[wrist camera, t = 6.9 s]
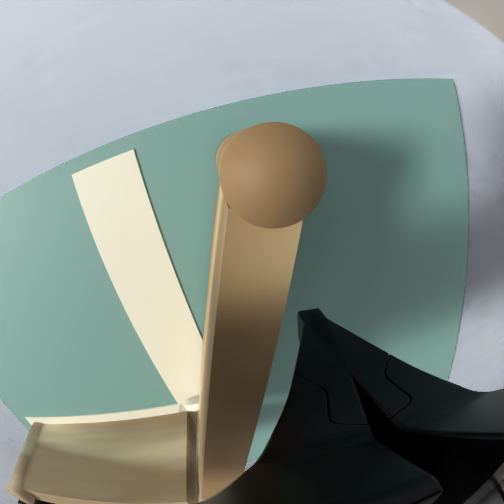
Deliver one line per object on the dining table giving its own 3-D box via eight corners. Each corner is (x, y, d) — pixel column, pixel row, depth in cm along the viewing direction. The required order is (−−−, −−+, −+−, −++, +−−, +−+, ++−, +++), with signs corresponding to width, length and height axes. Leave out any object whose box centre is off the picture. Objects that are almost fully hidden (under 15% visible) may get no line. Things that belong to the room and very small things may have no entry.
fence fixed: (229, 419, 14) (243, 525, 8) (43, 437, 13) (20, 508, 8) (219, 400, 13) (230, 515, 7) (28, 421, 13) (0, 494, 7)
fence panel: (270, 135, 9) (334, 132, 4) (229, 406, 13) (241, 503, 8) (219, 129, 9) (227, 114, 4) (194, 404, 13) (196, 503, 8)
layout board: (442, 382, 16) (446, 387, 16) (75, 468, 15) (73, 473, 15) (445, 79, 10) (453, 79, 9) (-75, 251, 9) (-81, 255, 8)
